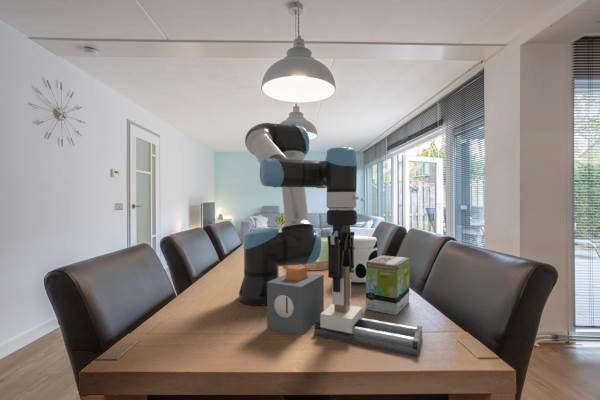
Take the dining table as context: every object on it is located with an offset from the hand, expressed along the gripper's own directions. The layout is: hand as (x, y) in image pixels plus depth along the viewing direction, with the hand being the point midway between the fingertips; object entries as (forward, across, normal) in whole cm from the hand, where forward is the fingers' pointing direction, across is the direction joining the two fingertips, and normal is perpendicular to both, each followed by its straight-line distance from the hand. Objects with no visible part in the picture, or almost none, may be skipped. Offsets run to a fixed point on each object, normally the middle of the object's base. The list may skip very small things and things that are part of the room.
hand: (342, 300), depth 78 cm
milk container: (+8, +49, +10) cm, 51 cm away
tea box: (+8, +25, -6) cm, 27 cm away
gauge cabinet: (+8, 0, +13) cm, 15 cm away
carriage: (+6, 0, 0) cm, 6 cm away
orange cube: (-3, 0, +13) cm, 13 cm away
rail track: (+8, 0, -6) cm, 10 cm away
